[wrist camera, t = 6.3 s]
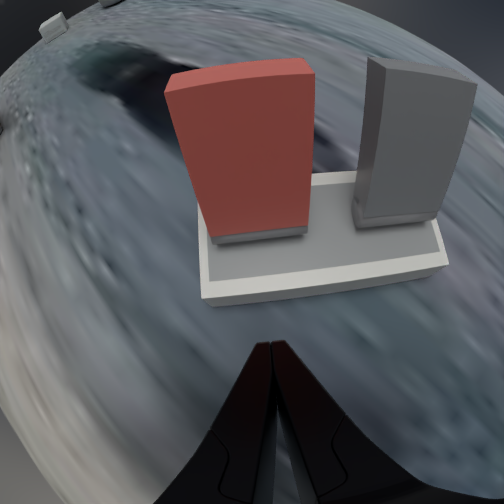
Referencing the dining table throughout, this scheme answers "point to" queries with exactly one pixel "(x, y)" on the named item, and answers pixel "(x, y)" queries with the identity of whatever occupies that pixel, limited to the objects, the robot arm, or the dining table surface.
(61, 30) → the small box
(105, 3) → the plastic bottle
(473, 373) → the dining table surface
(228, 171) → the upright red slab
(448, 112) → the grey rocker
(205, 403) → the dining table surface
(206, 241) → the shallow grey tray
